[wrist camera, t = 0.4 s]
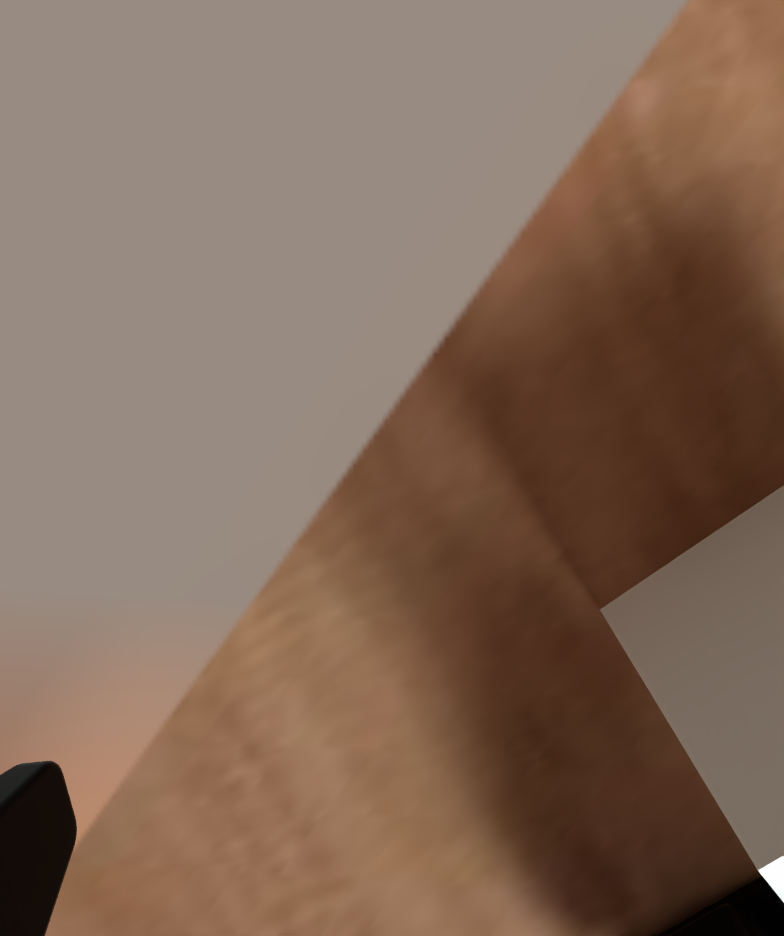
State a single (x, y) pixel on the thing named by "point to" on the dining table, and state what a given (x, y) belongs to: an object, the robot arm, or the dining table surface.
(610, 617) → the white rectangular block
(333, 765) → the dining table surface
